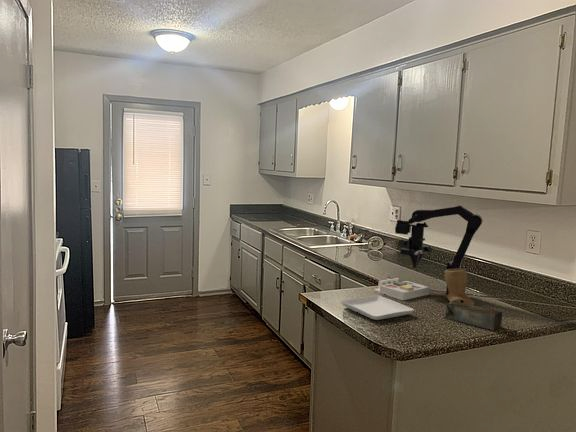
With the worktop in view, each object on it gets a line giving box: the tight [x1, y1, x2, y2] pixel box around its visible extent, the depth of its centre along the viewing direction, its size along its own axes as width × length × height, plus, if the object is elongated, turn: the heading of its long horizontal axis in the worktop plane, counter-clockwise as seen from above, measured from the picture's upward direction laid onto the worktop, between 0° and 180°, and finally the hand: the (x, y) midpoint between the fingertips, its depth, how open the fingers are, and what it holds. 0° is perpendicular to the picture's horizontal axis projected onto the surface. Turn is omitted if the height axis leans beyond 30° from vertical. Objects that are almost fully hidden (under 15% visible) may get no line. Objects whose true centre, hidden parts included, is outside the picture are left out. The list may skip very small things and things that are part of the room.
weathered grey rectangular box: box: [444, 301, 503, 331], centre depth 176 cm, size 8×19×7 cm, turn 47°
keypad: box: [373, 277, 431, 301], centre depth 214 cm, size 16×20×4 cm
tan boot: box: [443, 268, 475, 306], centre depth 202 cm, size 15×12×15 cm
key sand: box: [400, 285, 414, 291], centre depth 208 cm, size 4×4×2 cm
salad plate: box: [340, 294, 415, 321], centre depth 182 cm, size 21×21×3 cm
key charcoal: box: [393, 280, 407, 286], centre depth 214 cm, size 4×4×2 cm
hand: (414, 267), depth 222 cm, fingers closed
